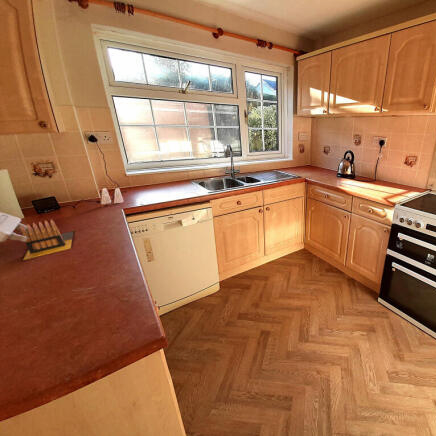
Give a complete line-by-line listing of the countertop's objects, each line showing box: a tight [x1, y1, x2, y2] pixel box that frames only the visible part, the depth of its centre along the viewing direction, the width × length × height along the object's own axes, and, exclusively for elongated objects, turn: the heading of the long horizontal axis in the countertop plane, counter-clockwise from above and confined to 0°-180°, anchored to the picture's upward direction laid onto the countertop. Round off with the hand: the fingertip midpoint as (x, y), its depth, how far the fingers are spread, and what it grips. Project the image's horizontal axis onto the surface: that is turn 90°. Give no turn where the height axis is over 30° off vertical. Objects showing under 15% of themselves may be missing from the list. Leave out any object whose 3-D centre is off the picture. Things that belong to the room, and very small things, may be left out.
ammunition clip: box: [19, 219, 65, 254], centre depth 99 cm, size 11×2×12 cm, turn 128°
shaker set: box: [100, 187, 125, 206], centre depth 158 cm, size 12×4×11 cm, turn 128°
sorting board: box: [22, 231, 75, 261], centre depth 105 cm, size 14×22×1 cm, turn 37°
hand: (29, 235), depth 96 cm, fingers open, 8 cm apart
